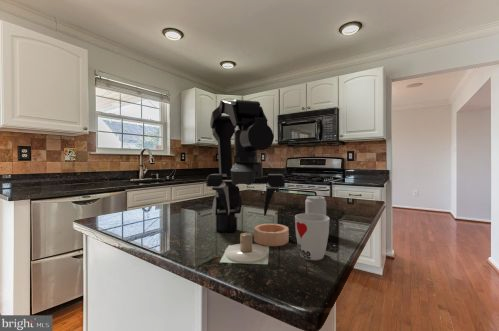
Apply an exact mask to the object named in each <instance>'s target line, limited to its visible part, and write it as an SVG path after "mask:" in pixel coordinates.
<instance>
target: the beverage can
mask: <svg viewBox="0 0 499 331" xmlns="http://www.w3.org/2000/svg"><path fill="white" fill-rule="evenodd" d="M304 210H305V212H304V213H313V214H321V215H325V216H327V200H326V198H325V196H321V195H308V196H306V199H305V209H304Z"/></svg>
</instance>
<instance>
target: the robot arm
mask: <svg viewBox="0 0 499 331" xmlns="http://www.w3.org/2000/svg"><path fill="white" fill-rule="evenodd" d="M223 114H225V115H223ZM268 122H269V120H268V119H267V116H266V114H265V112H264V109H263V107H262V106H261V103H260V102H259V100H246V99H233V100H225V99H224V100H223V99H222V100H220V102H219V105H218V106H217V108H215V109H214V110H213V111H212V113H211V117H210V123H209V124H210V126H209V127H210V129H211V130H212V131H211V132H212V136H213V137H214V138H215V140H216V141H217V152H218V154H217V155H218V156H217V157H218V171H219V172H218V173H212V174H208V175H207V177H206V181H205V182H206V185H205V186H206V187H210V188H211V189H212V191H215V196H214V197H213V202H212V207H211V208H212V209H211V210H212V214H214V216H215V222H216V223H215V226H216V227H215V231H214V234H235V233H236V232H237V231H238V230H239V217H238V216H237V214H238V215H239V214H240V215H241V211H242V205H243V204H242V203H243V199H242V196H241V194H240V188H239V185H247V186H248V185H249V186H251V185H266V190H265V192H266V193H265V200H264V205H263V206H264V207H263V208H264V209H263V216H265V217H266V216H267V212H268V209H269V206H270V202H271V200H272V197H273V195H274V194H275V192H278V191H280V188H285V187H286V181H285V180H286V179H285V178H286V177H285V176H284V174H282V173H268V174H267V176H263V162H260V161H259V162H258V160H259V159H258V158H259V157H258V156H259V154H258V152H259V151H265V150H267V149H269V148H270V147H271V146H272V144H273V142H274V138H275V135H274V132H273V129H272V128H271V127H270V126H269V123H268ZM232 138H233V139H234V140H233V141H234V142H233V144H234V153H233V152H232V150H233V149H232ZM232 153H233V154H234V156H233V154H232ZM233 157H234V159H233ZM233 161H234V162H233ZM237 185H238V186H237Z"/></svg>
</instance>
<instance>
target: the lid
mask: <svg viewBox="0 0 499 331" xmlns="http://www.w3.org/2000/svg"><path fill="white" fill-rule="evenodd" d="M239 237H240V238H239V241H240V242H239V243H236V244H232V246H230V247H228V246H227V247H228V248H227V247H226V249H225V251H224V253H225V256H226V257H227V258H228V259H230V260H232V261H235V262H243V263H242V264H245V263H248V262H256V261H260V260H262V259H264V258H266V256H267V249H266V248H265V247H263V246H264V245H261V244H258V243H253V233H251V232H241V233H240V235H239Z"/></svg>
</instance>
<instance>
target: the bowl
mask: <svg viewBox="0 0 499 331" xmlns="http://www.w3.org/2000/svg"><path fill="white" fill-rule="evenodd" d="M289 230H290V229H289V227H288V226H286V225H284V224H279V223H261V224H258V225H256V226H255V225H254V228H253V241H254V242H255V244H258V245H261V246H269V247H279V246H285V245H287V244H288V243H289V236H290V235H289Z"/></svg>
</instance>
